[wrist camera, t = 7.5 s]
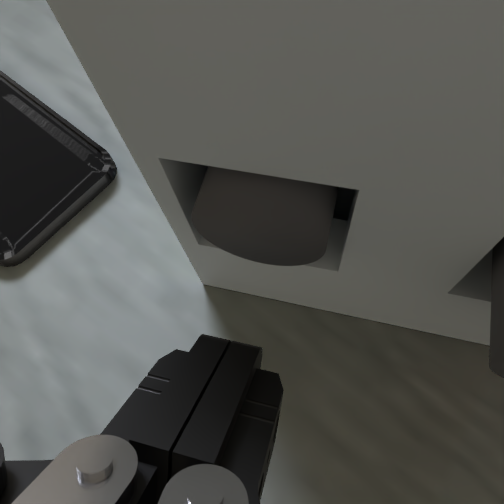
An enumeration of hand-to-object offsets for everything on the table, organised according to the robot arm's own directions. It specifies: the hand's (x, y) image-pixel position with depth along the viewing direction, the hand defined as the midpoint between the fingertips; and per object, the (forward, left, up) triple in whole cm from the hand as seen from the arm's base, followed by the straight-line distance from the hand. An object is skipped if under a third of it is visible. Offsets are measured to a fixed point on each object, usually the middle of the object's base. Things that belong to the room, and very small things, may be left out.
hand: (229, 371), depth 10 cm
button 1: (+2, +6, -2) cm, 6 cm away
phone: (-14, +15, -8) cm, 22 cm away
